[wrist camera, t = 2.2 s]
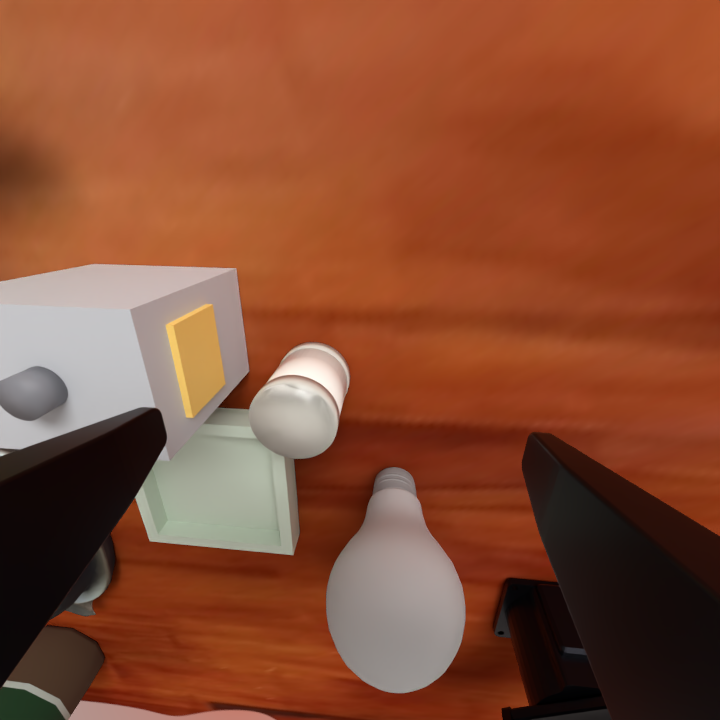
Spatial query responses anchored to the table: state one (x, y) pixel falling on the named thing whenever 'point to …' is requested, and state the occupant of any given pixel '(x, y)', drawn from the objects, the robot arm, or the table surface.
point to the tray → (223, 491)
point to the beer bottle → (51, 676)
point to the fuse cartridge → (301, 402)
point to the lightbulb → (395, 594)
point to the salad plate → (87, 577)
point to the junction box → (117, 348)
